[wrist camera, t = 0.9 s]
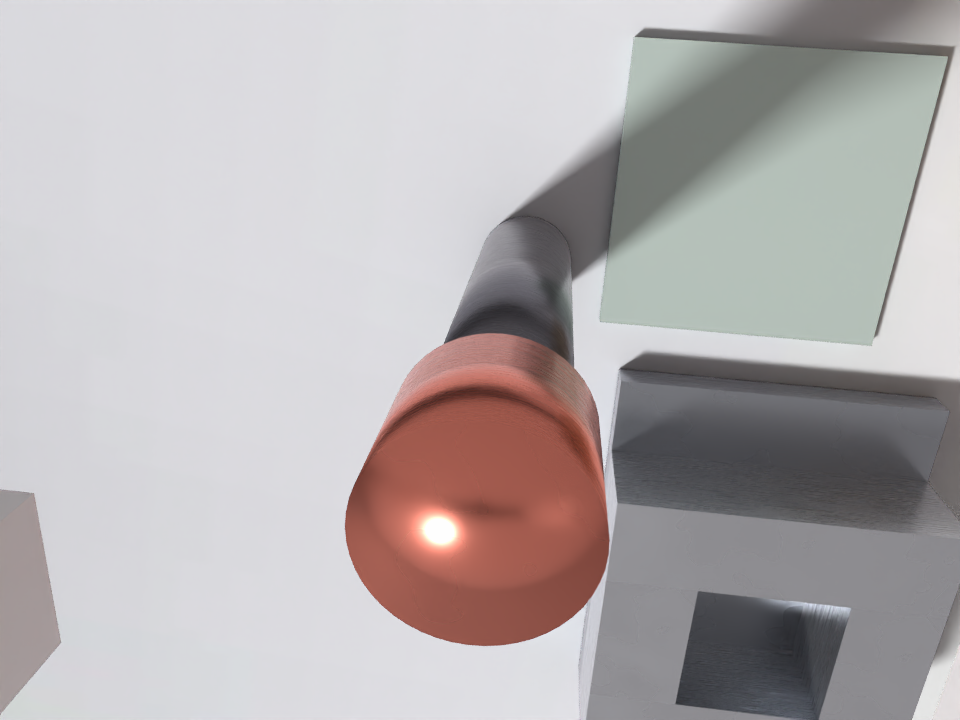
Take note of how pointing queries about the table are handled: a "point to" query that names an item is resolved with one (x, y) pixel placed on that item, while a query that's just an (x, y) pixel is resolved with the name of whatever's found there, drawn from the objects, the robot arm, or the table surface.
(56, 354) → the table surface
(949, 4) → the table surface
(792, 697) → the grey hollow block
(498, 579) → the red capped rod
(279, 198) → the table surface
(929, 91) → the mat
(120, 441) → the table surface
